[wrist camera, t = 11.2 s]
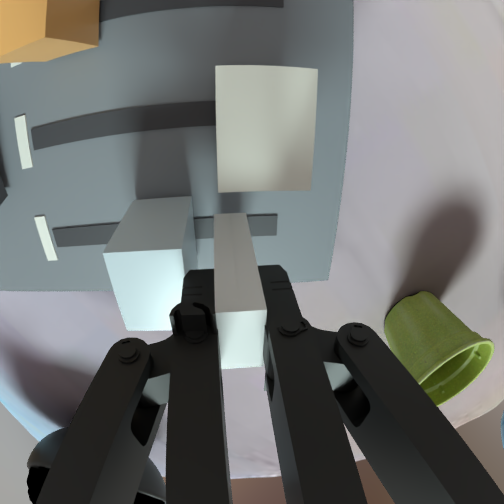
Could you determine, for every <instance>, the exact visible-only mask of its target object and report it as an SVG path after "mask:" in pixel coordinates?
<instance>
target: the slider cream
mask: <svg viewBox="0 0 504 504" xmlns="http://www.w3.org/2000/svg"><path fill="white" fill-rule="evenodd" d="M317 82H318V69H312V68H301V67H287V66H265V65H221V66H215V84H216V140H217V174H218V193H223V192H250V191H311V180H312V167H313V154H314V139H315V123H316V105H317Z"/></svg>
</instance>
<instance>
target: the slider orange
mask: <svg viewBox="0 0 504 504" xmlns="http://www.w3.org/2000/svg"><path fill="white" fill-rule="evenodd" d="M99 4H100V0H0V64H1V63H16V62H46V61H49V60H52V59H55V58H58V57H62V56H65V55H68V54H72V53H75V52H79V51H83V50H86V49H90V48H94V47H98V46H99Z"/></svg>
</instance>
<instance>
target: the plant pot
mask: <svg viewBox="0 0 504 504" xmlns="http://www.w3.org/2000/svg"><path fill="white" fill-rule="evenodd" d="M384 332H385V335H386V338H387V341H388V343H389V346H390V349H391V351H392V352H393V354H394V355H395V356H396V357H397V358H398V359H399V361H400V362H401V363H402V364H403V365H404V367H405V368H406V369H407V370H408V371H409V373H410V374H411V375H412V376H413V377H414V379H415V380H416V381H417V382H418V384H419V385H420V386H421V387H422V388H423V390H424V391H425V392H426V393H427V395H428V396H429V397H430V398H431V400H432V401H433V402H434V403H435V405H436V406H437V407H438V406H440V405H442V404H443V403H445V402H447V401H448V400H450V399H451V398H453V397H454V396H456V395H457V394H459V393H460V392H461V391H463V390H464V389H465V388H466V387H468V386H469V385H470V384H471V383H472V382H473V381H474V380H475V379H476V378H477V377H478V376H479V375H480V374H481V372H482V371H483V370H484V369H485V367H486V366H487V364H488V363H489V361H490V359H491V357H492V355H493V353H494V343H493V342H492V341H491V340H490V339H487V338H482V337H481V336H480V335H479V334H478V333H476V332H473V331H471V330H470V329H469V328H468V327H467V326H466V325H465V324H464V323H463V322H462V321H461V320H460V319H459V318H457V317H456V316H455V315H454V314H453V313H452V312H451V311H450V310H449V309H448V308H447V307H446V306H445V305H444V304H443V303H442V302H441V301H439V300H438V299H437V298H436V297H435V296H434V295H433V294H432V293H430V292H426V291H420V292H419V293H418V294H416V295H413V296H409V297H405V298H404V299H402V300H401V301H400V302H398V303H397V304H396V305H395V306H394V307H393V309H392V310H391V311H390V312H389V314H388V315H387V317H386V319H385V330H384Z"/></svg>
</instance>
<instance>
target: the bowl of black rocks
mask: <svg viewBox="0 0 504 504" xmlns="http://www.w3.org/2000/svg"><path fill="white" fill-rule="evenodd" d="M68 428H69V427H66V428H63V429H59V430H57V431H55V432H52V433H51V434H49V435H47V436H46V437H45V438H43V439H42V440H41V441H40V442H39V443H38V444H37V445H36V447H35V448H34V449H33V451H32V453H31V455H30V457H29V459H28V462H27V467H28V468H29V475H28V478H27V485H28V488H29V489H28V494H29V498H30V501H31V502H32V503H33V504H36V502H37V499H38V497H39V494H40V492H41V489H42V487H43V484H44V482H45V479H46V477H47V475H48V472H49V470H50V468H51V465H52V463H53V461H54V459H55V456H56V454H57V452H58V450H59V447H60V445H61V443H62V441H63V439H64V437H65V435H66V432H67V430H68ZM133 504H166V485H165V483H164V480H163V478H162V476H161V474H160V472H159V471H158V469H157V467H156V466H155V465H154V463H153V462H152V461H151V459H150V458H149V457H148V460H147V463H146V466H145V469H144V472H143V475H142V478H141V481H140V484H139V488H138V491H137V494H136V497H135V500H134V503H133Z"/></svg>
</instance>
